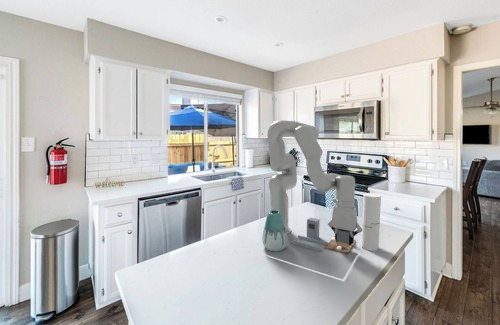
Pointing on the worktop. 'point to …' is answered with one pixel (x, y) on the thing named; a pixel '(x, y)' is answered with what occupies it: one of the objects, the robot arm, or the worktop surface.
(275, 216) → the vase
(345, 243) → the sleeve
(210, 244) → the worktop surface
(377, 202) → the cylindrical container
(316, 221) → the gray rectangular block
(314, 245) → the chute
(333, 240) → the pin board
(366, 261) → the worktop surface
